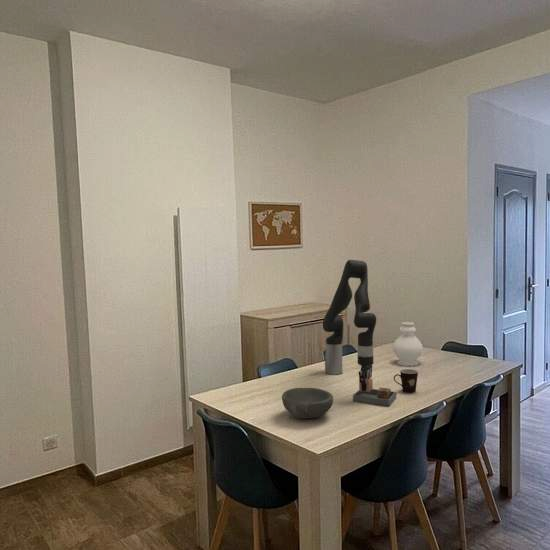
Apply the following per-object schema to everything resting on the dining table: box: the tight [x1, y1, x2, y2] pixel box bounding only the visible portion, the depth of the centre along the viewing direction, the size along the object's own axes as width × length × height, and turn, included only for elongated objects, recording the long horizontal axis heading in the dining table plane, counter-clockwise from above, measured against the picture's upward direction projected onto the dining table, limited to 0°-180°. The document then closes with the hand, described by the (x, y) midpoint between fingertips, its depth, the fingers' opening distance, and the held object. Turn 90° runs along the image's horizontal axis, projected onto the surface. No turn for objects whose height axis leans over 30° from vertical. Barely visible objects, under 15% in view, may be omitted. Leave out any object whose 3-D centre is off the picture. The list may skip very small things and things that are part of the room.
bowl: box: [281, 387, 334, 419], centre depth 213 cm, size 23×22×10 cm
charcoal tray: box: [352, 388, 397, 407], centre depth 232 cm, size 17×13×3 cm
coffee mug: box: [393, 368, 419, 394], centre depth 244 cm, size 12×9×10 cm
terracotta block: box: [358, 378, 374, 392], centre depth 234 cm, size 5×5×5 cm
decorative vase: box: [392, 321, 424, 367], centre depth 297 cm, size 18×18×25 cm
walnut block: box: [377, 387, 392, 400], centre depth 230 cm, size 5×5×5 cm
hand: (365, 388), depth 234 cm, fingers closed on terracotta block, 5 cm apart
